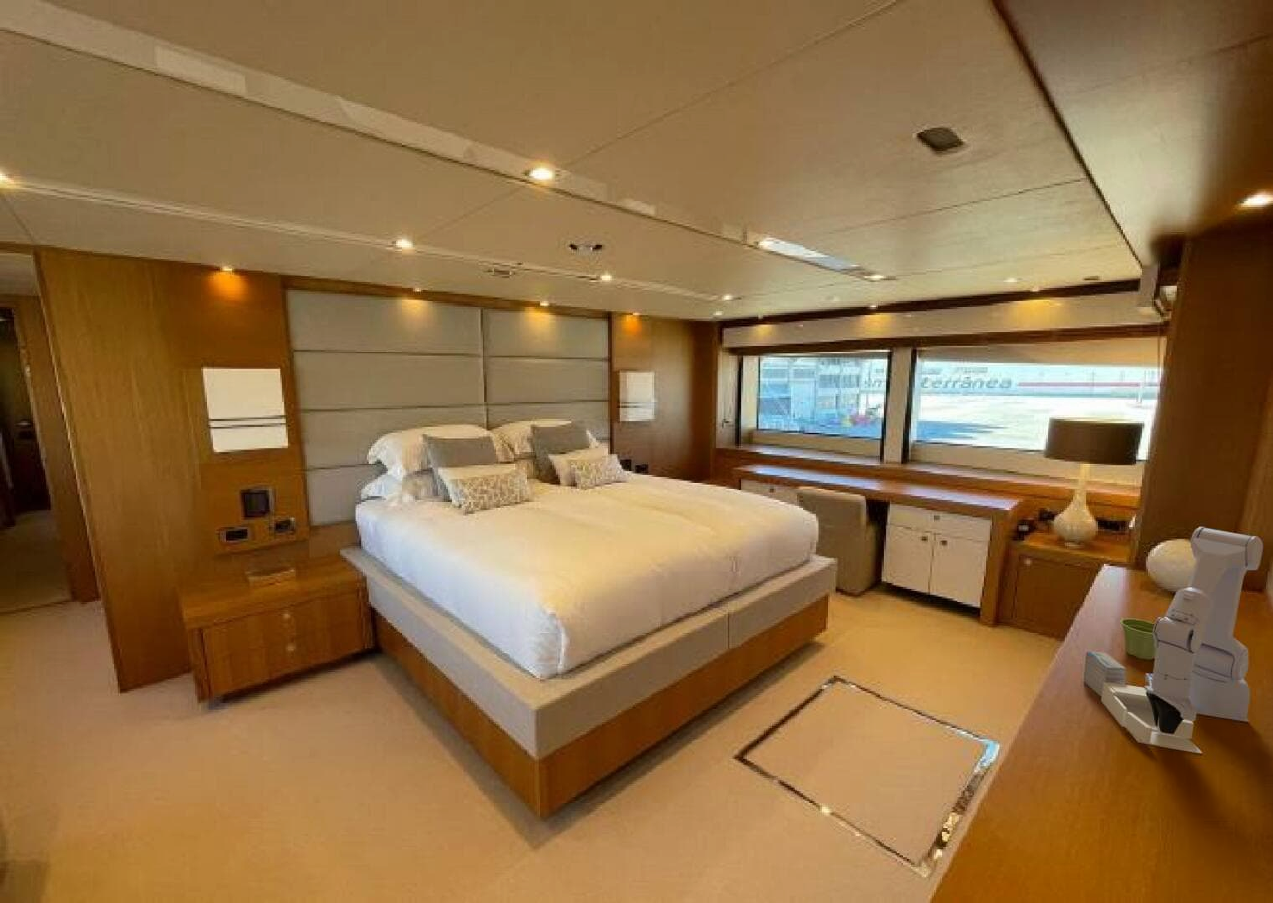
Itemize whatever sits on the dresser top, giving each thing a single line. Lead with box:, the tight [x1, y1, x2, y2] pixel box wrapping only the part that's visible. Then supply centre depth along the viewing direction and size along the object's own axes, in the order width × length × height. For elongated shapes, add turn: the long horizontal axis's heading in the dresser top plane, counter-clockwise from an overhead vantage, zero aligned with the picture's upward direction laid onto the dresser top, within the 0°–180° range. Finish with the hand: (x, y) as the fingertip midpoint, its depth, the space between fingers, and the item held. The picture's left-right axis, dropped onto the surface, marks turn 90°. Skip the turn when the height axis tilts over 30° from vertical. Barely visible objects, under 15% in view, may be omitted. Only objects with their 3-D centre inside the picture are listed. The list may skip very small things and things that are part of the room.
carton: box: [1100, 682, 1203, 755], centre depth 118 cm, size 12×16×5 cm
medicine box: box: [1083, 651, 1127, 698], centre depth 131 cm, size 8×4×9 cm, turn 168°
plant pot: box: [1120, 618, 1156, 661], centre depth 148 cm, size 9×9×9 cm
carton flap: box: [1157, 718, 1194, 740], centre depth 114 cm, size 5×1×4 cm, turn 69°
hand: (1164, 730), depth 115 cm, fingers closed
